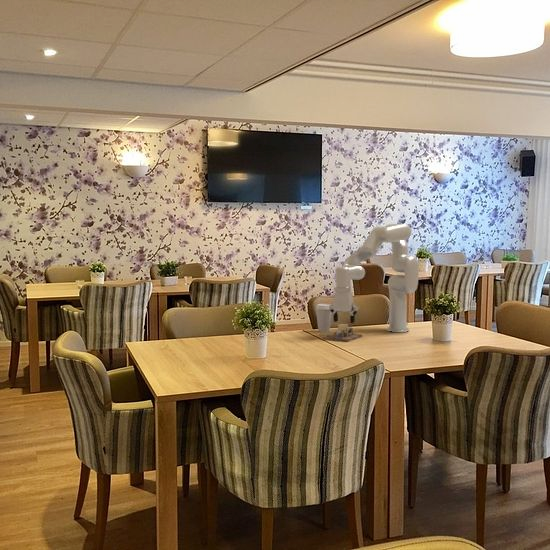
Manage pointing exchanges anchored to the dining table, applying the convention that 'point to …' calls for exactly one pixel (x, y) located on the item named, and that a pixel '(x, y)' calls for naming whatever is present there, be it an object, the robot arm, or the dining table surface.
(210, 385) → the dining table surface
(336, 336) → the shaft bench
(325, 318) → the coffee cup
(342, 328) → the coupler
